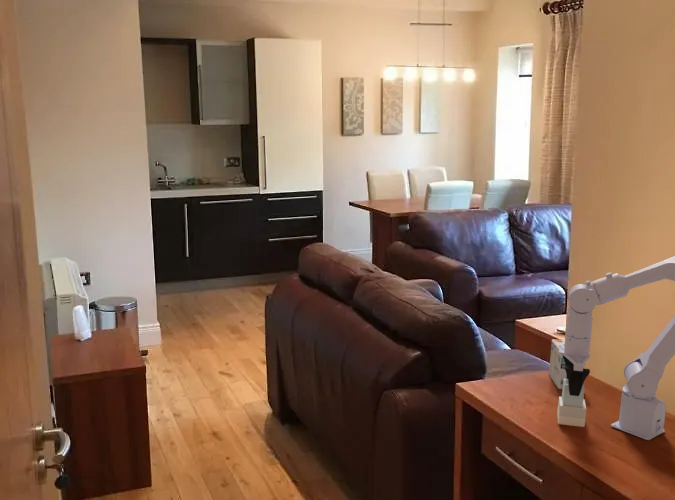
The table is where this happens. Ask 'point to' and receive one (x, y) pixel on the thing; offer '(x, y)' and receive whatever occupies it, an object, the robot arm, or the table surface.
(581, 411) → the beige block
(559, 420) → the cream slab
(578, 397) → the pale blue block
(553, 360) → the light bulb box
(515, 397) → the table surface
